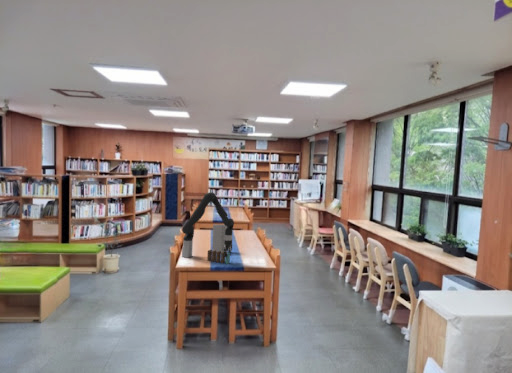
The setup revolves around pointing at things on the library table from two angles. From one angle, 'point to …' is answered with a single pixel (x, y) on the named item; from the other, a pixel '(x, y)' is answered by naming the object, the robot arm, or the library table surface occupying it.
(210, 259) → the domino
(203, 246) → the library table surface
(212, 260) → the domino
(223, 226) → the tall gray block
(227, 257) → the domino
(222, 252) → the domino
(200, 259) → the library table surface
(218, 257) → the domino
